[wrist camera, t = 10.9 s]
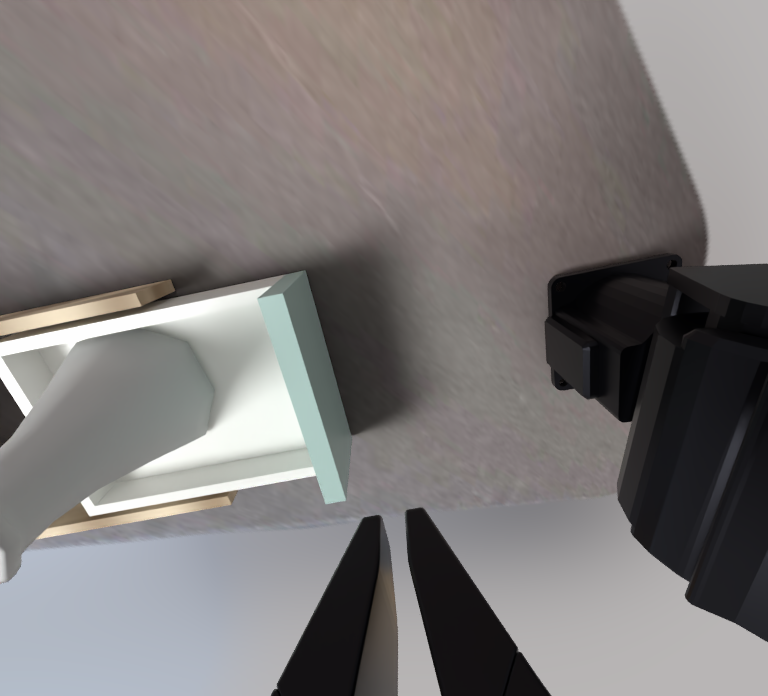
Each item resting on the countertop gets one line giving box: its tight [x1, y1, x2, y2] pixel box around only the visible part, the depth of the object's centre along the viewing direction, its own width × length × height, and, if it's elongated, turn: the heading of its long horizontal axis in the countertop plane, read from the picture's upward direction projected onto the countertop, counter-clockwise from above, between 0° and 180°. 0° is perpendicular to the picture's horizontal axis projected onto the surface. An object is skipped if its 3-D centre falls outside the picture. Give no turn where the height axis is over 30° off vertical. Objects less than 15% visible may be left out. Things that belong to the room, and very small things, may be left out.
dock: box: [0, 279, 238, 540], centre depth 18 cm, size 15×12×8 cm
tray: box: [0, 270, 352, 516], centre depth 19 cm, size 15×10×5 cm
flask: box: [0, 328, 215, 584], centre depth 15 cm, size 7×7×10 cm
